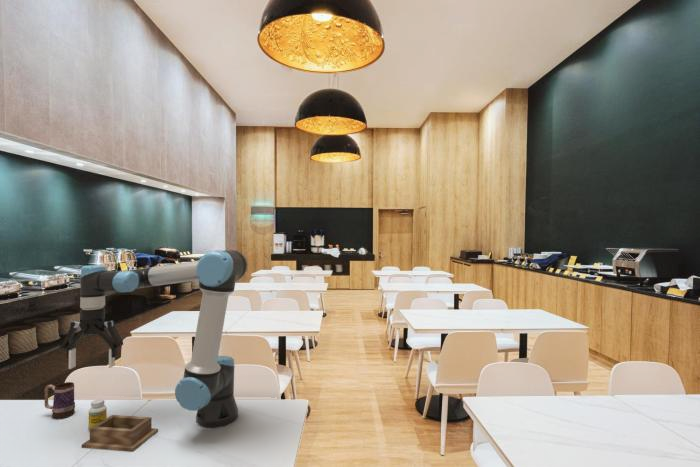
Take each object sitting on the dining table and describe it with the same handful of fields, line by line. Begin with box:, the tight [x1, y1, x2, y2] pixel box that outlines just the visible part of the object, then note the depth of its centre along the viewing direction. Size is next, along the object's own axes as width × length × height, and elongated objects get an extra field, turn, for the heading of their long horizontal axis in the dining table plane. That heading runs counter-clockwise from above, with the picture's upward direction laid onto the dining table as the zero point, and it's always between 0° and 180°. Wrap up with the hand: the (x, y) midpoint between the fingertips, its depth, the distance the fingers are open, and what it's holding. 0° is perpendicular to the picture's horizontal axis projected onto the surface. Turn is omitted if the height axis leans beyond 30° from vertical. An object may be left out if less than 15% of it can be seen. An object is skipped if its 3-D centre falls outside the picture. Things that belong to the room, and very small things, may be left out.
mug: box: [43, 381, 76, 420], centre depth 146 cm, size 10×7×12 cm
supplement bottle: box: [88, 398, 108, 431], centre depth 136 cm, size 5×5×10 cm
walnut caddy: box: [81, 414, 159, 452], centre depth 129 cm, size 18×13×6 cm
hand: (92, 367), depth 137 cm, fingers open, 13 cm apart
